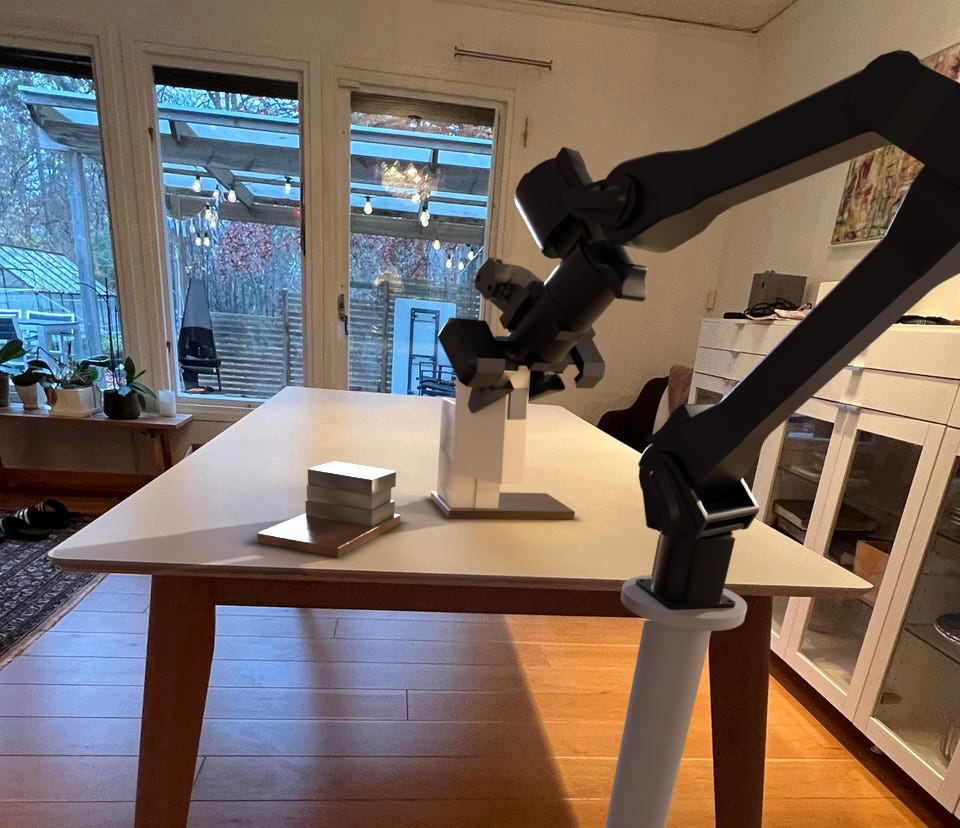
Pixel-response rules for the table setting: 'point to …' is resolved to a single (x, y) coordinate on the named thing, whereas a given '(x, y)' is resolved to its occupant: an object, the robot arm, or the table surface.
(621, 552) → the table surface
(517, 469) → the white book
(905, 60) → the robot arm
